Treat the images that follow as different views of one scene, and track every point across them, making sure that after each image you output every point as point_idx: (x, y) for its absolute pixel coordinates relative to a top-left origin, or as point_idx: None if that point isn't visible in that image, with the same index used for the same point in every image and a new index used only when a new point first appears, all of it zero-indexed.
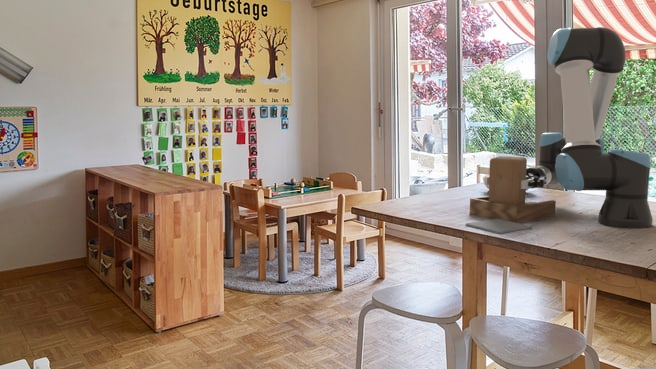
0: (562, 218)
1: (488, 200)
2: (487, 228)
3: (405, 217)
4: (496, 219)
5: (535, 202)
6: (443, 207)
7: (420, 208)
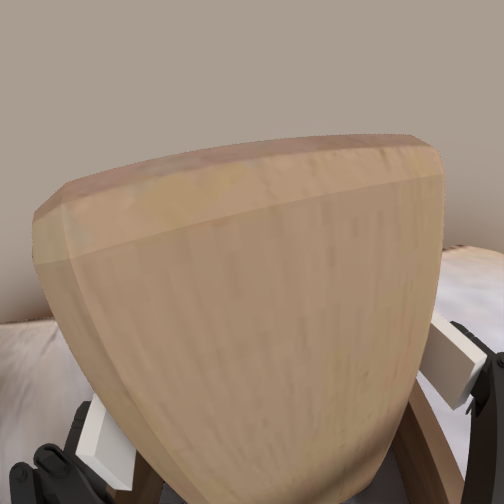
0: None
1: (409, 424)
2: None
3: None
4: None
5: None
6: (499, 350)
7: (480, 305)
